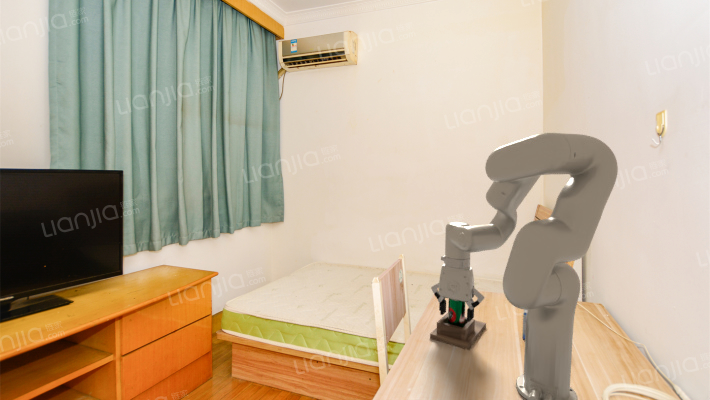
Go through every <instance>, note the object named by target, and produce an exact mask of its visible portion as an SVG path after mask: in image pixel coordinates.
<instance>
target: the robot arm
mask: <svg viewBox="0 0 710 400" xmlns="http://www.w3.org/2000/svg"><path fill="white" fill-rule="evenodd" d="M485 161H486V162H485V166H484V168H485V173H486V175H487V177H488V178H489V179H490V180H491V181H493V182H492V183H491V185H490V187H489V188H488V190H487V191H486V192H485V193H486V194H485V199H486V201H487V203H488V205H490V206H491V207H492V208H493V209H494V210H496V213H495V215H494V216H493V218H492V219H491V221H490V222H489V223H487V224H478V225H477V224H476V225H470V224H469V223H467V222H460V221H453V222H447V224H446V226H445V240H444V247H445V248H444V256H440V260H441V261H443V264H442V265H441V269H440V273H439V282H438V283H436V284H433V285H432V286H430V289H431V290H432V293H433V294H434V296H435V298H436V299H437V301H438V303H439V306H438V307H439V311H440V312H439V315H440V316H444V314H445V313H446V312H447V300H446V299H448V300H449V299H453V300H458V301H462V302H465V304H466V305H467V307H468V308H467V310H466V318H467V321H468V322H470V321H471V320H472V319H474V317H475V308H476V307H477V306H479V305H480V304H481V303H482V301H483V300H484V299H485V298H486V297H485V296H484V295H483V294H482V293H481V292H480V291H478V289H476V287H475V277H474V271H473V267H471V254H473V253H478V252H485V251H494V250H497V249H500V248H501V247H503V246H504V244H505V243H507V241H508V239H509V238H510V237H511V236H512V234H513V233H514V231H515V229H516V227H517V222H518V214H517V213H518V212H517V210H518V208H519V206H521V204H522V202H524V199H525V198H526V196H528V194H529V193H530V191H531V190H532V189H533V187H534V186H535V185H536V183H537V181H539V180H540V178H541V176H544V175H545V176H547V175H570V177H569V180H568V182H566V184H565V185H564V186H563V188H562V189H561V191H560V192H559V193H558V196H557V198H556V201H555V204H554V207H553V210H552V211H551V214H550V216H549V217H547V218H544V219H536V220H533V221H530V222H528V223H526V224H524V225H523V226H522V227H521V228H520V229H519V231H518V232H517V234H516V236H515V238H514V240H513V243H512V247H511V250H510V252H509V256H508V259H507V263H506V266H505V269H504V272H503V277H502V289H503V293H504V296H505V298H506V300H507V301H508V303H510V304H511V305H512V306H514V307H515V308H517V309H520V310H523V311H524V310H527V315H526V329H525V340H524V354H523V355H524V358H523V361H524V362H523V373H522V374H521V375H519V376H518V377H516V380H515V381H516V382H515V386H516V390H517V392H518V393H519V395H521V396H522V398H524V399H525V400H578V395H577V392H576V391H575V389H573V388H572V387H571V376H572V375H571V373H572V359H573V358H572V356H573V354H572V352H573V339H574V338H573V335H574V323H575V322H574V321H575V314H576V308H577V305H578V301H579V298H580V293H581V280H580V276H579V275H578V273H577V272H576V270H575V269H574V268H573V267H572V265H570V264H568V262H569V263H570V262H574V261H577V260H580V259H582V258H583V257H585V256H586V255H587V253H588V251H589V248H590V247H591V243H592V241H593V238H594V236H595V234H596V231H597V228H598V226H599V223H600V220H601V219H602V218H601V217H602V216H603V212H604V210H605V207H606V205H607V202H608V200H609V198H610V196H611V194H612V191H613V190H614V187H615V184H616V181H617V178H618V170H619V168H618V161H617V157H616V154H615V153H614V151H613V150H612V149H611V148H610V147H609V146H608V144H607V143H605V142H604V141H602V140H600V139H599V138H596V137H594V136H590V135H587V134H578V133H561V132H544V133H537V134H534V135H531V136H529V137H525V138H523V139H522V138H521V139H520V140H516V141H514V142H511V143H508V144H505V145H502V146H499V147H498V148H495V149H494V150H493V151H492V152H491V153H490V154H489V155H488V157H487V159H486V160H485ZM474 297H476V298H477V299H476V300H475V301H474V299H473V298H474Z"/></svg>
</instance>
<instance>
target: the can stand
mask: <svg viewBox="0 0 710 400" xmlns="http://www.w3.org/2000/svg"><path fill="white" fill-rule="evenodd" d="M442 316H443V317H441V318H439V320H438V321H436V328H435V329H434V330H432V332H430V333H429V339H431V340H435V341H438V342H441V343H444V344H447V345H450V346H455V347H458V348H461V349H464V350H467V351H470V349H471V347H473V345H474V344H475V342H477V339H478V338H479V337H480V336H481V334H482V333H483V332H484V330H486V328H487V323H486V322H484V321H479V320H476V319H474V318H473V319H472V320H471V321H470V322H468V321H467V316H465V326H464V327H463V328H462V327H459V326H455V325H451V324H448V312H447V313H446V314H445V315H442Z"/></svg>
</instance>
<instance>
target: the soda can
mask: <svg viewBox="0 0 710 400" xmlns="http://www.w3.org/2000/svg"><path fill="white" fill-rule="evenodd" d="M447 308H448V309H447V311H448V312H447V313H448V324H451V325H455V326H459V327H462V328H463V327H464V326H465V317H466V302H462V301H458V300H453V299H449V298H448V307H447Z"/></svg>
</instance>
